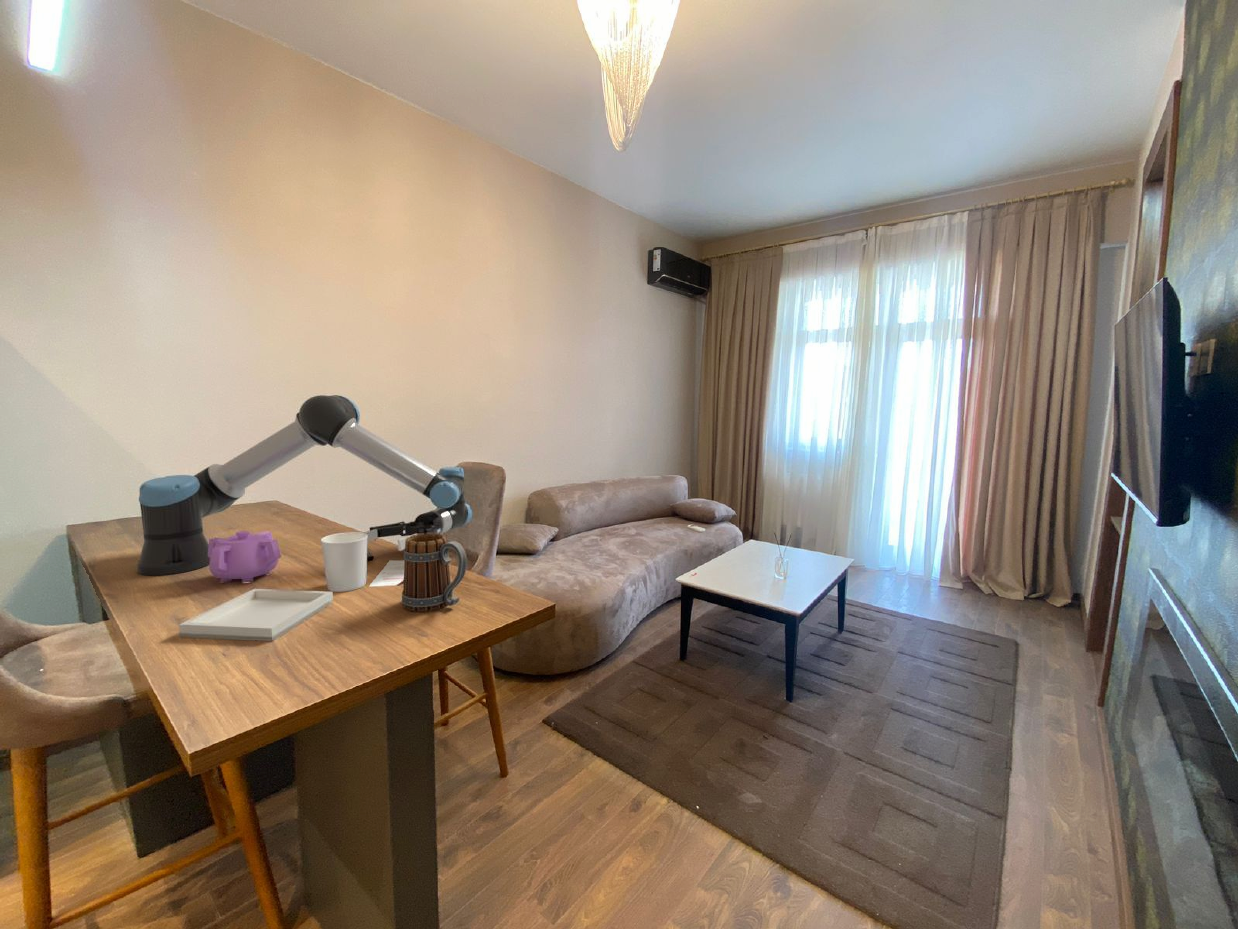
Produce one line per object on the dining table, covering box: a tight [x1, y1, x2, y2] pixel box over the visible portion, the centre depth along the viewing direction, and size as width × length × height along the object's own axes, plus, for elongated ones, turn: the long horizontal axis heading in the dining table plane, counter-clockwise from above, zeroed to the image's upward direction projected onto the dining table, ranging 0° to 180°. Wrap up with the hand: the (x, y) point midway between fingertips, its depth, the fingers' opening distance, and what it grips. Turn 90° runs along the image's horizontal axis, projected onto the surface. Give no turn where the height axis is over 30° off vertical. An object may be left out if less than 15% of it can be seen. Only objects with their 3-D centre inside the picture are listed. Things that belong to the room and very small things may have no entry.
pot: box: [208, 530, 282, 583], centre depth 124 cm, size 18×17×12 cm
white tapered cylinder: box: [320, 531, 368, 593], centre depth 120 cm, size 10×10×12 cm
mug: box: [401, 533, 468, 613], centre depth 109 cm, size 16×11×15 cm
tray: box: [178, 588, 334, 642], centre depth 102 cm, size 18×18×2 cm
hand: (377, 542), depth 129 cm, fingers open, 13 cm apart
